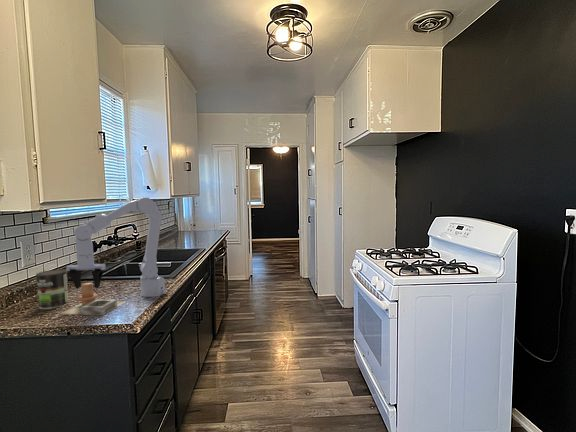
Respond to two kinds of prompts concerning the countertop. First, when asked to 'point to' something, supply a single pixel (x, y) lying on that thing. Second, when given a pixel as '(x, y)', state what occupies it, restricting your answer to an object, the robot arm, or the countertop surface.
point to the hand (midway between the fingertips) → (87, 287)
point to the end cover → (87, 294)
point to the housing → (94, 307)
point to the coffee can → (52, 288)
